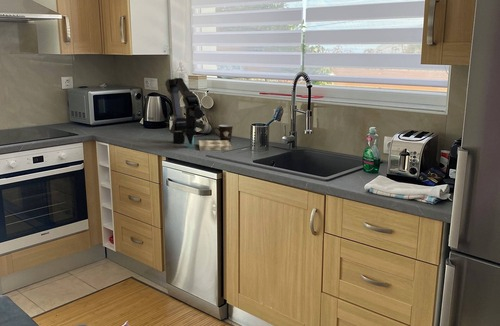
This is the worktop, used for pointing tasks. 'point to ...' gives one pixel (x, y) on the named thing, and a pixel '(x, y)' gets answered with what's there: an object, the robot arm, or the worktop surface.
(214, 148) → the keyhole board
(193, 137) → the peg
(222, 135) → the coffee mug
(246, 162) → the worktop surface
